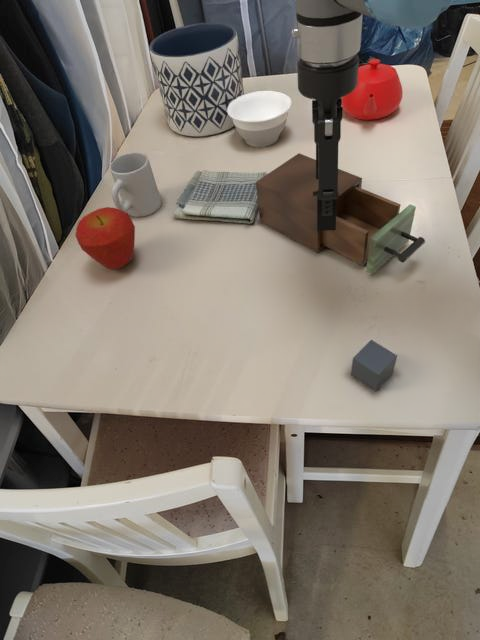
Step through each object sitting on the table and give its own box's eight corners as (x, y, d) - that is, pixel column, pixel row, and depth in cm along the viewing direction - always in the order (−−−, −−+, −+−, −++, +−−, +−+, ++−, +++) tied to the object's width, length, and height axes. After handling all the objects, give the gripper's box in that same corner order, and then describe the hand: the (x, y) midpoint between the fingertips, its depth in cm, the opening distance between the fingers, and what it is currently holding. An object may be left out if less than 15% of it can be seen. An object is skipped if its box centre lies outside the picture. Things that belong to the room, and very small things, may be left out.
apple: (132, 285, 85) (110, 236, 76) (84, 279, 88) (57, 231, 79) (153, 247, 92) (136, 198, 83) (108, 243, 95) (86, 195, 86)
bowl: (220, 149, 114) (215, 117, 107) (248, 120, 122) (245, 88, 116) (277, 158, 108) (274, 124, 101) (302, 126, 116) (301, 93, 110)
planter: (255, 126, 119) (246, 43, 104) (174, 146, 118) (153, 64, 103) (236, 93, 134) (226, 16, 118) (164, 110, 133) (145, 34, 117)
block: (393, 372, 66) (397, 355, 63) (375, 391, 64) (378, 375, 61) (368, 356, 68) (371, 339, 65) (350, 374, 67) (352, 357, 63)
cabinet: (358, 219, 89) (362, 178, 82) (317, 253, 85) (318, 211, 77) (299, 193, 98) (298, 152, 90) (259, 221, 93) (255, 182, 86)
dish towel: (270, 177, 103) (269, 165, 100) (253, 226, 92) (252, 214, 90) (196, 175, 107) (193, 163, 105) (171, 222, 97) (167, 210, 94)
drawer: (429, 250, 80) (438, 215, 74) (392, 285, 76) (399, 251, 70) (345, 212, 90) (347, 178, 84) (308, 241, 86) (308, 208, 80)
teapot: (343, 91, 126) (345, 44, 117) (400, 89, 122) (407, 40, 113) (335, 136, 111) (337, 86, 102) (400, 136, 107) (408, 83, 98)
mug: (139, 192, 106) (124, 149, 98) (168, 198, 103) (155, 154, 94) (109, 223, 99) (91, 180, 91) (140, 229, 96) (124, 186, 88)
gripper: (298, 24, 63) (301, 161, 79) (295, 105, 47) (300, 255, 63) (352, 18, 62) (345, 158, 78) (368, 98, 46) (354, 253, 62)
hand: (325, 201), depth 70 cm, fingers open, 13 cm apart
